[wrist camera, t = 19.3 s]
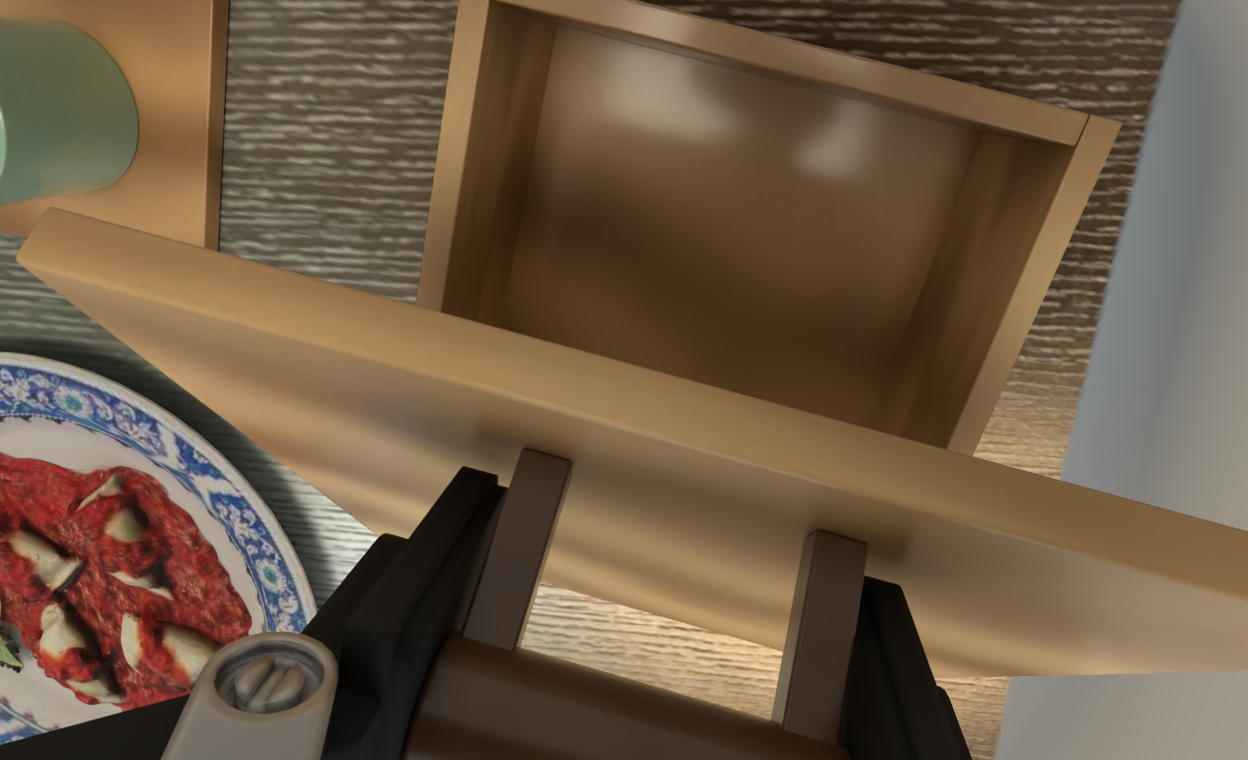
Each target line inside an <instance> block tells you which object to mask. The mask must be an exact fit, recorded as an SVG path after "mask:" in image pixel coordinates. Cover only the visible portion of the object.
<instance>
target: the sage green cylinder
mask: <svg viewBox="0 0 1248 760" xmlns="http://www.w3.org/2000/svg"><path fill="white" fill-rule="evenodd" d="M137 142H138V116H137V110H136V105H135V102H134V98H133V95H132V92H131V90H130V87H129V85H128V83H127V81H126V79H125V77H124V75H123V73H122V72H121V70H120V69H119V67H118V65H117V64H116V62H115V61H114V60H113V59H112V58H111V56H110V55H109V54H108V53H107V52H106V51H105V50H104V49H103V48H102V47H101V46H100V45H99V44H98V43H97V42H96V41H95V40H93V39H92V38H91V37H90V36H88V35H87V34H85V33H83V32H82V31H80V30H79V29H77V28H75V27H72V26H70V25H68V24H65V23H62V22H59V21H55V20H49V19H41V18H32V17H23V16H13V15H4V14H0V207H1V206H7V205H14V204H20V203H27V202H33V201H40V200H46V199H53V198H59V197H66V196H72V195H79V194H85V193H92V192H95V191H99V190H102V189H104V188H106V187H109V186H110V185H112V184H113V183H115V182H116V181H117V180H118V179H119V178H120V177H121V176H122V175H123V174H124V173H125V171H126V170H127V169H128V167H129V165H130V163H131V161H132V160H133V157H134V154H135V151H136V147H137Z"/></svg>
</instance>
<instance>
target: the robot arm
mask: <svg viewBox="0 0 1248 760" xmlns="http://www.w3.org/2000/svg"><path fill="white" fill-rule="evenodd" d="M507 491H508V487H504V486H500V485H498V475H496V474H492V473H488V472H485V471H481V470H477V469H474V468H470V467H466V466H462V467H461V468H460V470H459V471H458V472H457V474H456V475H455V476H454V478H453V479H452V480H451V482H450V483H449V485H448V486H447V487H446V489H445V490H444V491H443V493H442V494H441V495H440V497H439V498H438V499H437V501H436V502H435V503H434V505H433V506H432V507H431V509H430V510H429V511H428V513H427V514H426V516H425V517H424V518H423V520H422V521H421V522H420V524H419V525H418V526H417V528H416V529H415V530H414V532H413V533H412V534H411V536H410V537H409V538H408V539H407V538H403V537H400V536H396V535H393V534H389V533H384V534H382V535H381V536H380V537H379V538H378V539H377V540H376V541H375V542H374V544H373V545H372V546H371V547H370V548H369V550H368V551H367V552H366V553H365V555H364V556H363V557H362V558H361V559H360V561H359V562H358V563H357V564H356V566H355V567H354V568H353V569H352V571H351V572H350V573H349V574H348V575H347V577H346V578H345V579H344V580H343V582H342V583H341V584H340V585H339V587H338V588H337V589H336V590H335V591H334V593H333V594H332V595H331V596H330V598H329V599H328V600H327V601H326V603H325V604H324V605H323V606H322V607H321V609H320V610H319V611H318V612H317V614H316V615H315V616H314V617H313V618H312V620H311V621H310V622H309V623H308V625H307V626H306V627H305V628H304V630H303V631H302V632H301V633H300V634H298V633H292V632H287V631H280V632H263V633H258V634H254V635H249V636H245V637H243V638H240V639H238V640H236V641H234V642H231V643H229V644H227V645H225V646H224V647H223V648H221V649H220V650H219V651H218V652H216V653H215V654H214V655H212V656H211V657H210V659H209V660H208V661H207V663H206V664H205V666H204V667H203V669H202V670H201V672H200V674H199V676H198V678H197V681H196V683H195V685H194V687H193V689H192V692H191V694H187V695H183V696H179V697H176V698H172V699H168V700H164V701H161V702H157V703H153V704H150V705H146V706H142V707H138V708H135V709H131V710H127V711H124V712H120V713H116V714H112V715H109V716H105V717H101V718H98V719H94V720H90V721H86V722H83V723H79V724H75V725H72V726H68V727H64V728H60V729H57V730H53V731H49V732H45V733H42V734H38V735H34V736H31V737H27V738H23V739H19V740H16V741H12V742H8V743H5V744H1V745H0V760H401V756H402V751H403V746H404V742H405V738H406V734H407V730H408V726H409V723H410V720H411V716H412V713H413V710H414V707H415V704H416V701H417V699H418V696H419V693H420V690H421V688H422V685H423V683H424V680H425V678H426V675H427V673H428V671H429V668H430V666H431V664H432V662H433V660H434V658H435V656H436V653H437V652H438V650H439V648H440V646H441V645H442V643H443V642H444V640H445V639H446V638H447V636H448V635H449V634H450V633H451V632H452V631H456V630H462V627H463V624H464V621H465V618H466V615H467V612H468V609H469V606H470V603H471V600H472V597H473V594H474V591H475V588H476V585H477V582H478V579H479V576H480V573H481V570H482V567H483V564H484V561H485V558H486V555H487V552H488V549H489V546H490V543H491V540H492V537H493V534H494V531H495V528H496V525H497V522H498V519H499V516H500V512H501V509H502V506H503V503H504V500H505V497H506V494H507ZM839 741H841V742H842V743H843V744H844V745H845V746H846V747H847V748H848V750H849V752H850V754H851V757H852V760H972V758H971V755H970V753H969V750H968V747H967V745H966V742H965V739H964V736H963V734H962V731H961V728H960V726H959V723H958V720H957V718H956V715H955V712H954V710H953V707H952V704H951V701H950V699H949V697H948V695H947V693H946V691H945V690H944V689H942V688H941V687H939V686H937V685H936V682H935V679H934V676H933V674H932V671H931V668H930V665H929V662H928V660H927V657H926V654H925V651H924V648H923V646H922V643H921V640H920V637H919V634H918V632H917V629H916V626H915V623H914V621H913V618H912V615H911V612H910V609H909V607H908V604H907V601H906V598H905V595H904V593H903V590H902V588H901V586H900V585H898V584H895V583H891V582H887V581H884V580H880V579H876V578H873V577H869V576H865V575H864V580H863V587H862V594H861V600H860V607H859V613H858V620H857V627H856V633H855V640H854V646H853V653H852V660H851V666H850V673H849V679H848V686H847V693H846V699H845V706H844V712H843V719H842V726H841V732H840V739H839Z"/></svg>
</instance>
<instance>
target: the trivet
mask: <svg viewBox="0 0 1248 760" xmlns="http://www.w3.org/2000/svg"><path fill="white" fill-rule="evenodd" d="M228 11H229V0H0V14H4V15H13V16H23V17H32V18H41V19H49V20H55V21H59V22H62V23H65V24H68V25H70V26H72V27H75V28H77V29H79V30H80V31H82V32H83V33H85V34H87V35H88V36H90V37H91V38H92V39H93V40H95V41H96V42H97V43H98V44H99V45H100V46H101V47H102V48H103V49H104V50H105V51H106V52H107V53H108V54H109V55H110V56H111V58H112V59H113V60H114V61H115V62H116V64H117V65H118V67H119V69H120V70H121V72H122V73H123V75H124V77H125V79H126V81H127V83H128V85H129V87H130V90H131V92H132V95H133V98H134V102H135V105H136V110H137V116H138V142H137V147H136V151H135V154H134V157H133V160H132V161H131V163H130V165H129V167H128V169H127V170H126V171H125V173H124V174H123V175H122V176H121V177H120V178H119V179H118V180H117V181H116V182H115V183H113V184H112V185H110V186H109V187H106V188H104V189H102V190H99V191H95V192H92V193H85V194H79V195H72V196H66V197H59V198H53V199H46V200H40V201H33V202H27V203H20V204H14V205H7V206H1V207H0V231H3V232H6V233H10V234H13V235H17V236H21V237H24V238H27V237H28V235H29V234H30V232H31V231H32V229H33V228H34V226H35V225H36V223H37V222H38V220H39V219H40V217H41V215H42V214H43V212H44V211H45V210H46V209H47V208H48V207H56V208H59V209H63V210H67V211H70V212H74V213H78V214H81V215H85V216H89V217H92V218H96V219H100V220H103V221H107V222H111V223H115V224H118V225H122V226H126V227H129V228H133V229H137V230H140V231H144V232H148V233H151V234H155V235H159V236H162V237H166V238H170V239H173V240H177V241H181V242H184V243H188V244H192V245H195V246H199V247H203V248H207V249H210V250H214V251H218V239H219V216H220V193H221V170H222V148H223V125H224V102H225V79H226V57H227V34H228Z"/></svg>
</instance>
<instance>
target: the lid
mask: <svg viewBox="0 0 1248 760" xmlns="http://www.w3.org/2000/svg"><path fill="white" fill-rule="evenodd" d="M16 260H17V262H18V263H19V264H20V265H22V266H23V267H24V268H26V269H27V270H28V271H30V272H31V273H32V274H34V275H35V276H36V277H38V278H39V279H40V280H41V281H43V282H44V283H45V284H47V285H48V286H49V287H51V288H52V289H53V290H55V291H56V292H57V293H59V294H60V295H61V296H63V297H64V298H65V299H66V300H68V301H69V302H70V303H72V304H73V305H74V306H76V307H77V308H78V309H80V310H81V311H82V312H84V313H85V314H86V315H88V316H89V317H90V318H92V319H93V320H94V321H95V322H97V323H98V324H99V325H101V326H102V327H103V328H105V329H106V330H107V331H109V332H110V333H111V334H113V335H114V336H115V337H117V338H118V339H119V340H120V341H122V342H123V343H124V344H126V345H127V346H128V347H130V348H131V349H132V350H134V351H135V352H136V353H138V354H139V355H140V356H142V357H143V358H144V359H146V360H147V361H148V362H149V363H151V364H152V365H153V366H155V367H156V368H157V369H159V370H160V371H161V372H163V373H164V374H165V375H167V376H168V377H169V378H171V379H172V380H173V381H175V382H176V383H177V384H178V385H180V386H181V387H182V388H184V389H185V390H186V391H188V392H189V393H190V394H192V395H193V396H194V397H196V398H197V399H198V400H200V401H201V402H202V403H203V404H205V405H206V406H207V407H209V408H210V409H211V410H213V411H214V412H215V413H217V414H218V415H219V416H221V417H222V418H223V419H225V420H226V421H227V422H229V423H230V424H231V425H232V426H234V427H235V428H236V429H238V430H239V431H240V432H242V433H243V434H244V435H246V436H247V437H248V438H250V439H251V440H252V441H254V442H255V443H256V444H257V445H259V446H260V447H261V448H263V449H264V450H265V451H267V452H268V453H269V454H271V455H272V456H273V457H275V458H276V459H277V460H279V461H280V462H281V463H283V464H284V465H285V466H286V467H288V468H289V469H290V470H292V471H293V472H294V473H296V474H297V475H298V476H300V477H301V478H302V479H304V480H305V481H306V482H308V483H309V484H310V485H312V486H313V487H314V488H315V489H317V490H318V491H319V492H321V493H322V494H323V495H325V496H326V497H327V498H329V499H330V500H331V501H333V502H334V503H335V504H337V505H338V506H339V507H340V508H342V509H343V510H344V511H346V512H347V513H348V514H350V515H351V516H352V517H354V518H355V519H356V520H358V521H359V522H360V523H362V524H363V525H364V526H366V527H367V528H368V529H369V530H371V531H372V532H373V533H375V534H376V535H379V536H381V535H382V534H384V533H389V534H393V535H396V536H400V537H403V538H407V539H408V538H409V537H410V536H411V534H412V533H413V532H414V530H415V529H416V528H417V526H418V525H419V524H420V522H421V521H422V520H423V518H424V517H425V516H426V514H427V513H428V511H429V510H430V509H431V507H432V506H433V505H434V503H435V502H436V501H437V499H438V498H439V497H440V495H441V494H442V493H443V491H444V490H445V489H446V487H447V486H448V485H449V483H450V482H451V480H452V479H453V478H454V476H455V475H456V474H457V472H458V471H459V470H460V468H461V467H462V466H466V467H470V468H474V469H477V470H481V471H485V472H488V473H492V474H496V475H498V485H500V486H504V487H508V491H507V494H506V497H505V500H504V503H503V506H502V509H501V512H500V516H499V519H498V522H497V525H496V528H495V531H494V534H493V537H492V540H491V543H490V546H489V549H488V552H487V555H486V558H485V561H484V564H483V567H482V570H481V573H480V576H479V579H478V582H477V585H476V588H475V591H474V594H473V597H472V600H471V603H470V606H469V609H468V612H467V615H466V618H465V621H464V624H463V627H462V630H456V631H452V632H451V633H450V634H449V635H448V636H447V638H446V639H445V640H444V642H443V643H442V645H441V646H440V648H439V650H438V652H437V653H436V656H435V658H434V660H433V662H432V664H431V666H430V668H429V671H428V673H427V675H426V678H425V680H424V683H423V685H422V688H421V690H420V693H419V696H418V699H417V701H416V704H415V707H414V710H413V713H412V716H411V720H410V723H409V726H408V730H407V734H406V738H405V742H404V746H403V751H402V756H401V760H852V757H851V754H850V752H849V750H848V748H847V747H846V746H845V745H844V744H843V743H842V742H841V741H839V739H840V732H841V726H842V719H843V712H844V706H845V699H846V693H847V686H848V679H849V673H850V666H851V660H852V653H853V646H854V640H855V633H856V627H857V620H858V613H859V607H860V600H861V594H862V587H863V580H864V575H865V576H869V577H873V578H876V579H880V580H884V581H887V582H891V583H895V584H898V585H900V586H901V588H902V590H903V593H904V595H905V598H906V601H907V604H908V607H909V609H910V612H911V615H912V618H913V621H914V623H915V626H916V629H917V632H918V634H919V637H920V640H921V643H922V646H923V648H924V651H925V654H926V657H927V660H928V662H929V665H930V668H931V671H932V674H933V676H934V678H961V677H1004V676H1047V675H1086V674H1087V675H1088V674H1089V675H1090V674H1132V673H1174V672H1176V673H1177V672H1216V671H1217V672H1220V671H1248V531H1244V530H1241V529H1237V528H1233V527H1229V526H1226V525H1222V524H1218V523H1214V522H1211V521H1207V520H1204V519H1200V518H1196V517H1193V516H1188V515H1185V514H1182V513H1178V512H1174V511H1171V510H1167V509H1163V508H1160V507H1156V506H1152V505H1148V504H1144V503H1141V502H1137V501H1134V500H1130V499H1126V498H1122V497H1119V496H1115V495H1112V494H1108V493H1104V492H1100V491H1097V490H1093V489H1090V488H1086V487H1082V486H1079V485H1075V484H1071V483H1068V482H1064V481H1060V480H1057V479H1053V478H1049V477H1045V476H1042V475H1038V474H1034V473H1031V472H1027V471H1023V470H1020V469H1016V468H1012V467H1009V466H1005V465H1001V464H998V463H994V462H990V461H987V460H983V459H979V458H976V457H972V456H968V455H965V454H961V453H957V452H953V451H950V450H946V449H942V448H939V447H935V446H931V445H928V444H924V443H920V442H917V441H913V440H909V439H906V438H902V437H898V436H895V435H891V434H887V433H884V432H880V431H876V430H873V429H869V428H865V427H862V426H858V425H854V424H850V423H847V422H843V421H839V420H836V419H832V418H828V417H825V416H821V415H817V414H814V413H810V412H806V411H803V410H799V409H795V408H792V407H788V406H784V405H781V404H777V403H773V402H770V401H766V400H762V399H758V398H755V397H751V396H747V395H744V394H740V393H736V392H733V391H729V390H725V389H722V388H718V387H714V386H711V385H707V384H703V383H700V382H696V381H692V380H689V379H685V378H681V377H678V376H674V375H670V374H666V373H663V372H659V371H655V370H652V369H648V368H644V367H641V366H637V365H633V364H630V363H626V362H622V361H619V360H615V359H611V358H608V357H604V356H600V355H597V354H593V353H589V352H586V351H582V350H578V349H574V348H571V347H567V346H563V345H560V344H556V343H552V342H549V341H545V340H541V339H538V338H534V337H530V336H527V335H523V334H519V333H516V332H512V331H508V330H505V329H501V328H497V327H494V326H490V325H486V324H483V323H479V322H475V321H471V320H468V319H464V318H460V317H457V316H453V315H449V314H446V313H442V312H438V311H435V310H431V309H427V308H424V307H420V306H416V305H413V304H409V303H405V302H402V301H398V300H394V299H391V298H387V297H383V296H379V295H376V294H372V293H368V292H365V291H361V290H357V289H354V288H350V287H346V286H343V285H339V284H335V283H332V282H328V281H324V280H321V279H317V278H313V277H310V276H306V275H302V274H299V273H295V272H291V271H287V270H284V269H280V268H276V267H273V266H269V265H265V264H262V263H258V262H254V261H251V260H247V259H243V258H240V257H236V256H232V255H229V254H225V253H221V252H218V251H214V250H210V249H207V248H203V247H199V246H195V245H192V244H188V243H184V242H181V241H177V240H173V239H170V238H166V237H162V236H159V235H155V234H151V233H148V232H144V231H140V230H137V229H133V228H129V227H126V226H122V225H118V224H115V223H111V222H107V221H103V220H100V219H96V218H92V217H89V216H85V215H81V214H78V213H74V212H70V211H67V210H63V209H59V208H56V207H48V208H47V209H46V210H45V211H44V212H43V214H42V215H41V217H40V219H39V220H38V222H37V223H36V225H35V226H34V228H33V229H32V231H31V232H30V234H29V235H28V237H27V239H26V240H25V242H24V243H23V245H22V246H21V248H20V249H19V251H18V252H17V254H16ZM540 582H543V583H546V584H550V585H553V586H557V587H560V588H564V589H567V590H571V591H574V592H578V593H581V594H585V595H588V596H592V597H595V598H599V599H602V600H606V601H609V602H613V603H616V604H620V605H623V606H627V607H630V608H634V609H637V610H641V611H644V612H648V613H651V614H655V615H658V616H662V617H665V618H669V619H672V620H676V621H679V622H683V623H686V624H690V625H693V626H697V627H700V628H704V629H707V630H711V631H714V632H718V633H721V634H725V635H728V636H732V637H735V638H739V639H742V640H746V641H749V642H753V643H756V644H760V645H763V646H767V647H770V648H774V649H777V650H781V651H783V657H782V662H781V668H780V673H779V679H778V684H777V689H776V695H775V700H774V706H773V711H772V717H771V720H769V719H766V718H762V717H759V716H755V715H752V714H748V713H745V712H741V711H738V710H734V709H731V708H728V707H724V706H721V705H717V704H714V703H710V702H707V701H703V700H700V699H697V698H693V697H690V696H686V695H683V694H679V693H676V692H672V691H669V690H666V689H662V688H659V687H655V686H652V685H648V684H645V683H641V682H638V681H634V680H631V679H628V678H624V677H621V676H617V675H614V674H610V673H607V672H603V671H600V670H597V669H593V668H590V667H586V666H583V665H579V664H576V663H572V662H569V661H566V660H562V659H559V658H555V657H552V656H548V655H545V654H541V653H538V652H534V651H531V650H528V649H524V648H521V643H522V640H523V637H524V633H525V630H526V627H527V623H528V620H529V617H530V614H531V610H532V607H533V604H534V600H535V597H536V594H537V590H538V587H539V584H540Z"/></svg>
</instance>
